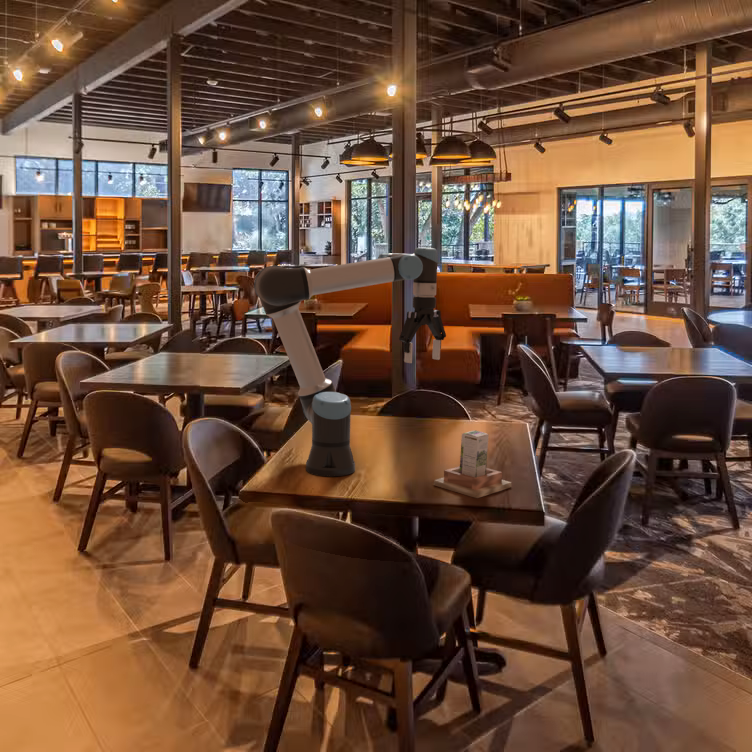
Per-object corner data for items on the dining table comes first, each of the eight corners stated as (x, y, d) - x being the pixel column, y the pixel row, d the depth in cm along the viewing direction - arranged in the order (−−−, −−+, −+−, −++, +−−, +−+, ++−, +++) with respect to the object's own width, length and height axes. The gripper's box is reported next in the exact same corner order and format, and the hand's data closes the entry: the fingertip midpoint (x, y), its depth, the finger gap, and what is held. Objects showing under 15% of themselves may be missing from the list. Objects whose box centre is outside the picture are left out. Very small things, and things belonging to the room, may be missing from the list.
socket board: (476, 498, 222) (477, 482, 222) (433, 485, 233) (434, 470, 233) (511, 487, 233) (511, 472, 233) (468, 475, 245) (469, 460, 244)
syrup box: (469, 477, 237) (472, 429, 235) (486, 481, 233) (488, 433, 231) (458, 481, 233) (460, 432, 231) (475, 485, 229) (477, 436, 227)
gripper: (406, 297, 247) (404, 365, 250) (458, 295, 264) (455, 359, 268) (389, 296, 252) (387, 362, 256) (441, 294, 270) (438, 356, 273)
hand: (422, 361), depth 262 cm, fingers open, 13 cm apart
